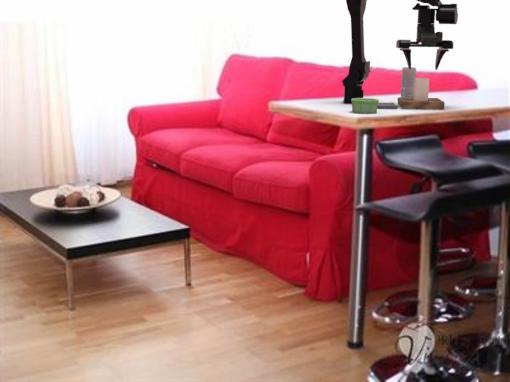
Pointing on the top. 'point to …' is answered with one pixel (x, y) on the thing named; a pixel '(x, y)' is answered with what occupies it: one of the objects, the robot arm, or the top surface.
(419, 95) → the pink block
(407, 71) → the energy drink
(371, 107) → the ramekin
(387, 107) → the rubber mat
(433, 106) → the pocket block
